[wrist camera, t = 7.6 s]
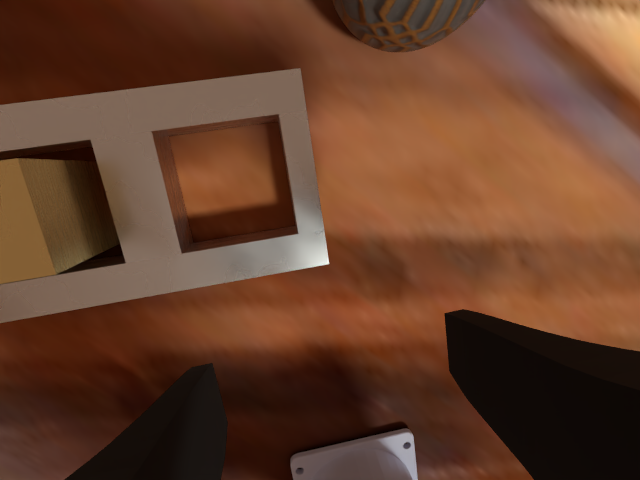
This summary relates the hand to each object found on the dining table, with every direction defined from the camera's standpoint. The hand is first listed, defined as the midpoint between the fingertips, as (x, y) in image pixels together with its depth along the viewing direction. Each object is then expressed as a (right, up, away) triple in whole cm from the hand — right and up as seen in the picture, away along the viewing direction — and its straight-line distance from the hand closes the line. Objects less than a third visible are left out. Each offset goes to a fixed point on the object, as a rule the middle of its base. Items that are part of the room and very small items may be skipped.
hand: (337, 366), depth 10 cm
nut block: (-13, +5, +7) cm, 15 cm away
